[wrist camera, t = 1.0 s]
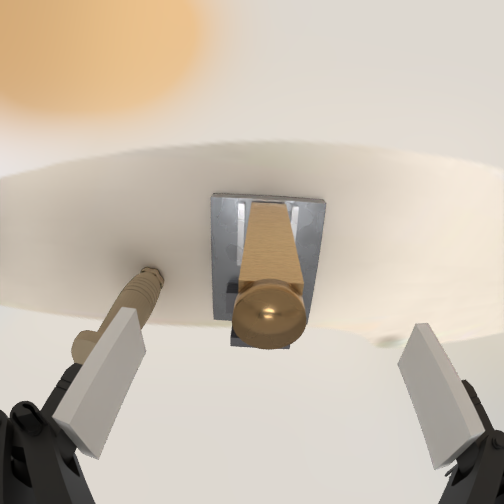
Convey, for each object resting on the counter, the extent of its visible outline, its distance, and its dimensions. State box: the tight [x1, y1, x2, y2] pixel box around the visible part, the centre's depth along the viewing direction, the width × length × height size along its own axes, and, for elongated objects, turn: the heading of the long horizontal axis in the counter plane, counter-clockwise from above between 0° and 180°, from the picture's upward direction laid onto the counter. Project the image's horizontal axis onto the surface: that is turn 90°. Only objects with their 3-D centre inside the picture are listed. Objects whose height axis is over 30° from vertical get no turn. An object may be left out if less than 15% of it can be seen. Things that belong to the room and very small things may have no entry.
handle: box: [71, 267, 164, 365], centre depth 26 cm, size 5×6×15 cm
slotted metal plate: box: [211, 193, 326, 349], centre depth 29 cm, size 11×14×6 cm
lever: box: [232, 202, 307, 349], centre depth 21 cm, size 4×4×15 cm
